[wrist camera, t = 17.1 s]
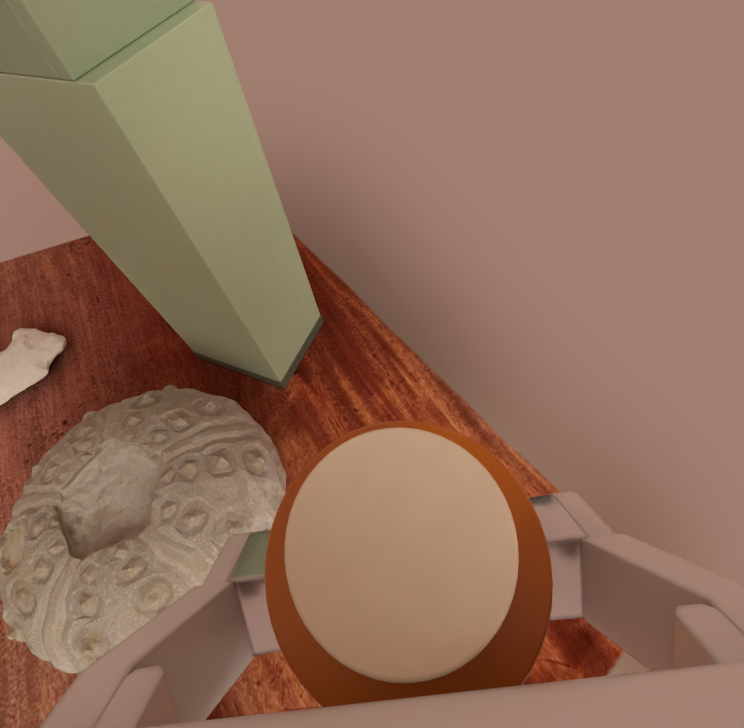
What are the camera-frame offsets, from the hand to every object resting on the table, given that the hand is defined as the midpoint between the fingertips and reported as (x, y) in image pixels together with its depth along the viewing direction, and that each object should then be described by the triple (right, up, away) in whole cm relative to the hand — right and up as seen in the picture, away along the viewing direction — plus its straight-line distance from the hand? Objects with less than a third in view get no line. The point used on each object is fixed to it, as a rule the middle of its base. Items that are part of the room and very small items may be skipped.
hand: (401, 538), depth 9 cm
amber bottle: (+1, -3, +4) cm, 5 cm away
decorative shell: (-15, -8, +22) cm, 28 cm away
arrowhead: (-35, +8, +32) cm, 48 cm away
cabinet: (-12, +6, +30) cm, 33 cm away
